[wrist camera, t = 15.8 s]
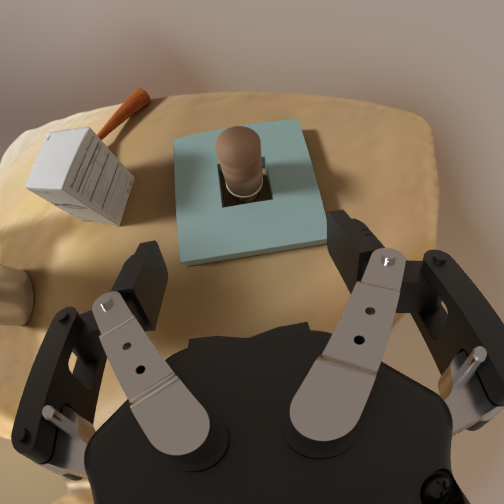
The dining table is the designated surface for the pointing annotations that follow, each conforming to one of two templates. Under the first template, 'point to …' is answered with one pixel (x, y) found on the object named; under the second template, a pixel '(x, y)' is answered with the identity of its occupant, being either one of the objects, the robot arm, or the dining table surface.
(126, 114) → the kendama
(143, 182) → the dining table surface
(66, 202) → the supplement box
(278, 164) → the board
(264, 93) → the dining table surface
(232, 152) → the peg
